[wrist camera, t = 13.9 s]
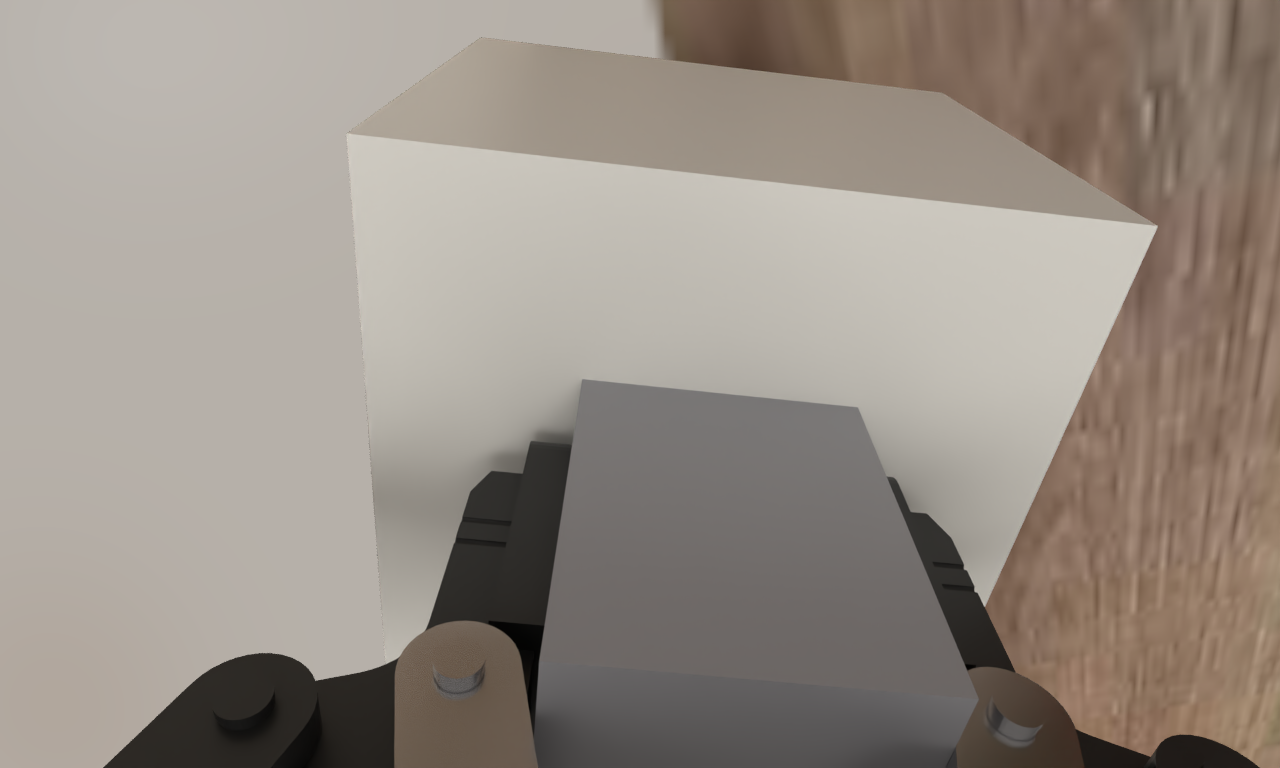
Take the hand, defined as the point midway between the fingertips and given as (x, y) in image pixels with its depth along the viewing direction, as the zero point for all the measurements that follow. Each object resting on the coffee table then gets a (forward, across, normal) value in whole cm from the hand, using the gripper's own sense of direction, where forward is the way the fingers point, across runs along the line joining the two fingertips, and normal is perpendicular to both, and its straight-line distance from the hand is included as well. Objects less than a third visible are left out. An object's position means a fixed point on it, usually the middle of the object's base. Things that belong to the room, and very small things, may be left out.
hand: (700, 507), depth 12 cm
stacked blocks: (+9, 0, 0) cm, 9 cm away
